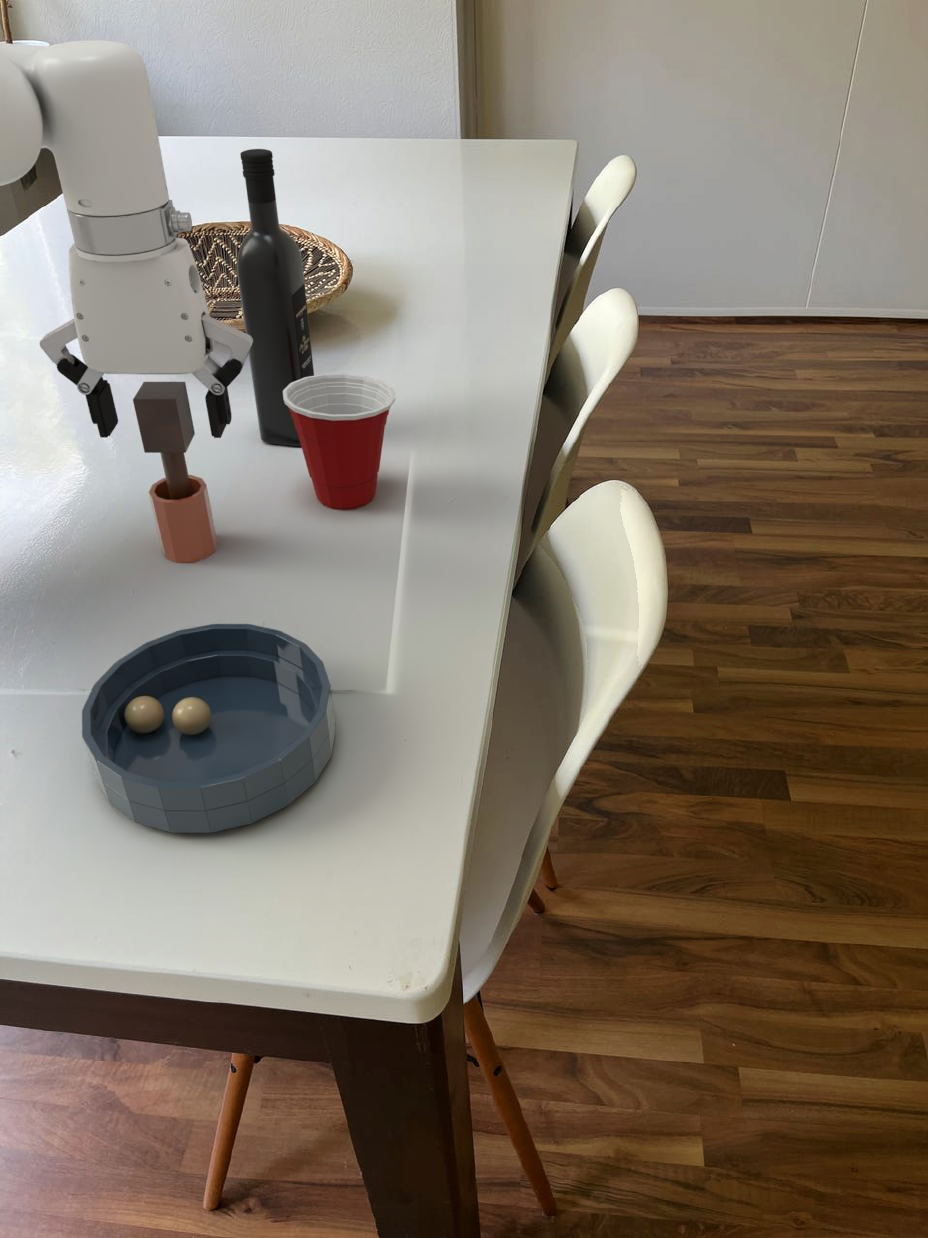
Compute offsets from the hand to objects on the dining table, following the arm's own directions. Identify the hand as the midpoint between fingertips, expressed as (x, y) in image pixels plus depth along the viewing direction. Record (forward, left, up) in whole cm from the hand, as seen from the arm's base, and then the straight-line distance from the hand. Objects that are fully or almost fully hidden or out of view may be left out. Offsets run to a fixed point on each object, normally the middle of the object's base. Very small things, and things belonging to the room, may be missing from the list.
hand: (164, 430), depth 86 cm
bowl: (+8, -26, -13) cm, 30 cm away
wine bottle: (+6, +24, -13) cm, 28 cm away
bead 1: (+3, -25, -11) cm, 27 cm away
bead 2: (+6, -25, -11) cm, 28 cm away
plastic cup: (+14, +10, -13) cm, 22 cm away
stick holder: (0, 0, -13) cm, 13 cm away
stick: (0, 0, -12) cm, 12 cm away
